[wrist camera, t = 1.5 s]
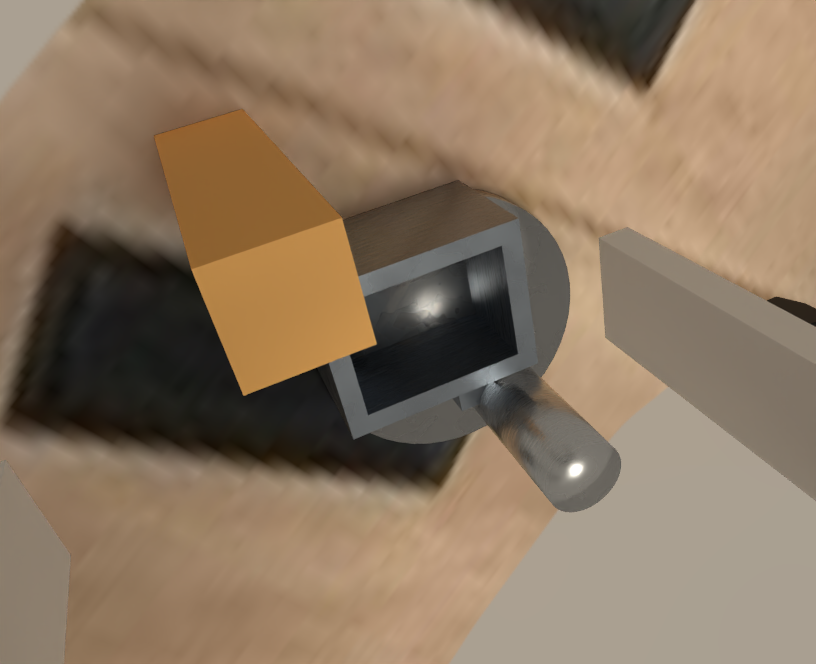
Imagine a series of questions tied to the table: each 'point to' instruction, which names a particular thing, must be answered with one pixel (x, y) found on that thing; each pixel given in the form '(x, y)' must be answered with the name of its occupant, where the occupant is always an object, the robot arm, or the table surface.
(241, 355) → the orange rectangular block
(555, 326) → the bracket
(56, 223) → the table surface
